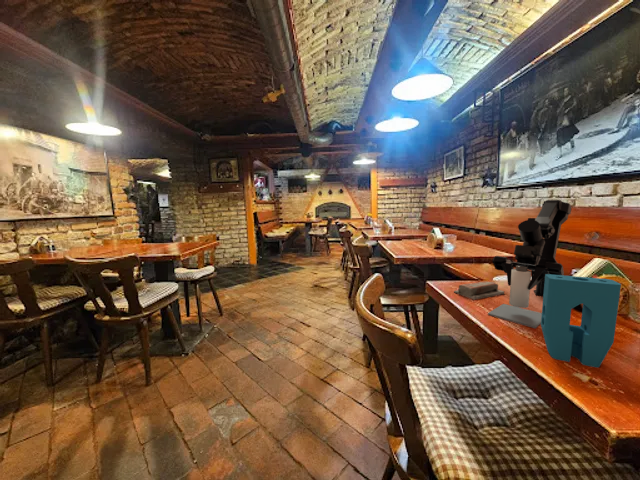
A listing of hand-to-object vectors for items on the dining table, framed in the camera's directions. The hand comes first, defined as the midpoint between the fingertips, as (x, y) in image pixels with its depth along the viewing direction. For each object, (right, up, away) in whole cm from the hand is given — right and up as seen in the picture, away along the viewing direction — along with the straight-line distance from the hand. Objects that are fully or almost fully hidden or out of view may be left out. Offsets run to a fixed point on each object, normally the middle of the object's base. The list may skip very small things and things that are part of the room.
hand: (518, 287), depth 84 cm
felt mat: (+1, -10, +2) cm, 10 cm away
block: (-5, -14, -22) cm, 26 cm away
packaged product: (+2, -8, +25) cm, 26 cm away
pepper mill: (+1, -6, +2) cm, 7 cm away
